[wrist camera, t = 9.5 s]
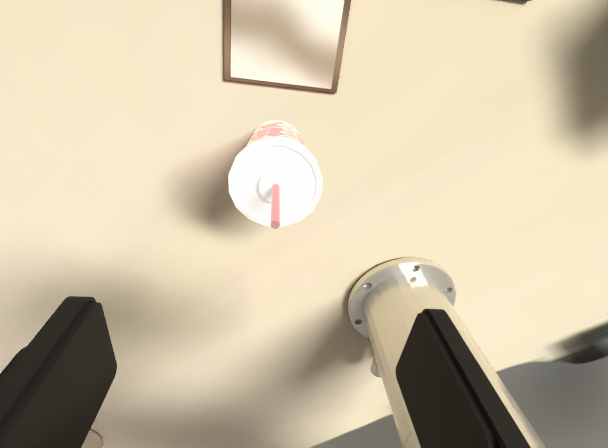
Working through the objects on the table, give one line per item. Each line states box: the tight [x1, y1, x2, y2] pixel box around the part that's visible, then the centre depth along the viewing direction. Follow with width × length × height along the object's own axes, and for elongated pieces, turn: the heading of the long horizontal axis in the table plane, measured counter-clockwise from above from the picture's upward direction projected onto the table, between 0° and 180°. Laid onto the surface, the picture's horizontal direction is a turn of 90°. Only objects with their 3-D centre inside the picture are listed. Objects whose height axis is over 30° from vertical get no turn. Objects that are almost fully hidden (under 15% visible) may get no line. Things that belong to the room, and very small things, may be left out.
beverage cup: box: [228, 120, 323, 229], centre depth 22 cm, size 6×6×14 cm
